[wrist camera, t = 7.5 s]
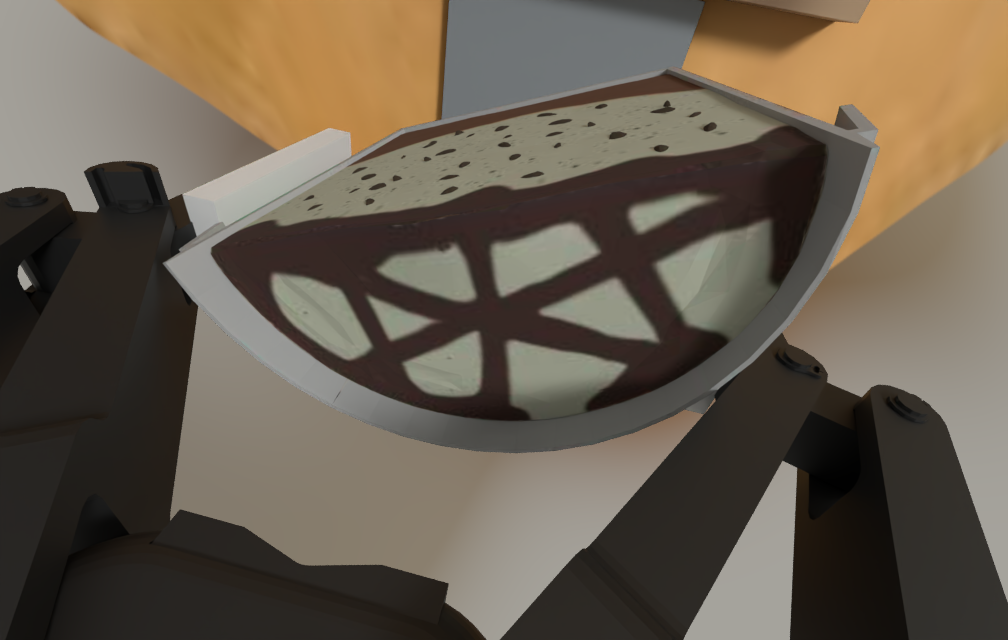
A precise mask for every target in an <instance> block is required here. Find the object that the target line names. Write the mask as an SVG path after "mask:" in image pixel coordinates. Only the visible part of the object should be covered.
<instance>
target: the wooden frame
mask: <svg viewBox="0 0 1008 640" xmlns="http://www.w3.org/2000/svg"><path fill="white" fill-rule="evenodd" d="M728 1H733V2H738V3H743V4H748V5H753V6H758V7H764V8H769V9H774V10H779V11H784V12H789V13H794V14H800V15H805V16H810V17H815V18H820V19H825V20H831V21H836V22H848V23H858V22H859V20H860V18H861V16H862V15H863V13H864V11H865V9H866V7H867V5H868V4H869V2H870V0H728Z"/></svg>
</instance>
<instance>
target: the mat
mask: <svg viewBox="0 0 1008 640" xmlns="http://www.w3.org/2000/svg"><path fill="white" fill-rule="evenodd" d="M704 4H705V2H704V1H699V0H449V10H448V26H447V42H446V58H445V74H444V89H443V105H442V119H446V118H450V117H454V116H459V115H463V114H468V113H472V112H476V111H481V110H485V109H489V108H494V107H498V106H502V105H507V104H511V103H516V102H520V101H524V100H529V99H533V98H537V97H542V96H546V95H550V94H555V93H559V92H564V91H568V90H572V89H577V88H581V87H585V86H590V85H594V84H599V83H603V82H607V81H612V80H616V79H620V78H625V77H629V76H633V75H638V74H642V73H647V72H651V71H655V70H660V69H664V68H668V67H673V66H674V67H677V68H680V69H681V68H682V66H683V63H684V60H685V57H686V54H687V52H688V49H689V46H690V43H691V40H692V37H693V35H694V32H695V29H696V26H697V23H698V21H699V18H700V15H701V12H702V9H703V7H704Z"/></svg>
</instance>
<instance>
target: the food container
mask: <svg viewBox="0 0 1008 640" xmlns="http://www.w3.org/2000/svg"><path fill="white" fill-rule="evenodd" d="M877 132H878V129H877V128H876V127H875V126H874V125H873V124H872V123H871V122H870V121H869V120H868V119H867V118H866V117H865V116H864V115H863V114H862V113H861V112H860V111H859V110H858V109H857V108H856V107H855V106H853V105H852V104H851V105H844V106H840V107H839V110H838V114H837V118H836V122H835V125H832V124H829V123H826V122H824V121H821V120H818V119H815V118H813V117H810V116H807V115H805V114H802V113H799V112H796V111H794V110H791V109H788V108H786V107H783V106H780V105H777V104H775V103H772V102H769V101H766V100H764V99H761V98H758V97H756V96H753V95H750V94H747V93H745V92H742V91H739V90H737V89H734V88H731V87H728V86H726V85H723V84H720V83H718V82H715V81H712V80H709V79H707V78H704V77H701V76H699V75H696V74H693V73H690V72H688V71H685V70H682V69H680V68H677V67H674V66H673V67H668V68H664V69H660V70H655V71H651V72H647V73H642V74H638V75H633V76H629V77H625V78H620V79H616V80H612V81H607V82H603V83H599V84H594V85H590V86H585V87H581V88H577V89H572V90H568V91H564V92H559V93H555V94H550V95H546V96H542V97H537V98H533V99H529V100H524V101H520V102H516V103H511V104H507V105H502V106H498V107H494V108H489V109H485V110H481V111H476V112H472V113H468V114H463V115H459V116H454V117H450V118H446V119H441V120H437V121H433V122H428V123H424V124H419V125H415V126H411V127H406V128H402V129H400V130H398V131H396V132H394V133H392V134H391V135H389V136H387V137H385V138H383V139H382V140H380V141H378V142H376V143H374V144H373V145H371V146H369V147H367V148H366V149H364V150H362V151H360V152H358V153H357V154H355V155H353V156H351V157H349V158H348V159H346V160H344V161H342V162H341V163H339V164H337V165H335V166H333V167H332V168H330V169H328V170H326V171H324V172H323V173H321V174H319V175H317V176H315V177H314V178H312V179H310V180H308V181H307V182H305V183H303V184H301V185H299V186H298V187H296V188H294V189H292V190H290V191H289V192H287V193H285V194H283V195H281V196H280V197H278V198H276V199H274V200H273V201H271V202H269V203H267V204H265V205H264V206H262V207H260V208H258V209H256V210H255V211H253V212H251V213H249V214H248V215H246V216H244V217H242V218H240V219H239V220H237V221H235V222H233V223H231V224H230V225H228V226H225V225H224V223H223V222H220V223H216V224H214V225H213V226H212V227H210V228H209V229H207V230H206V231H204V232H203V233H201V234H200V235H199V236H197V237H196V238H194V239H193V240H191V241H190V242H189V243H187V244H186V245H184V246H183V247H181V248H180V249H179V251H180V253H178V254H177V255H175V256H173V257H172V258H170V259H169V260H167V261H165V262H164V263H163V264H164V266H165V267H166V268H167V269H168V271H169V272H170V273H171V274H172V275H173V277H174V278H175V279H176V280H177V282H178V283H179V284H180V285H181V287H182V288H183V289H184V290H185V291H186V293H187V294H188V295H189V296H190V298H191V299H192V300H193V301H194V302H195V303H196V304H197V305H198V306H199V307H200V308H201V309H202V310H203V311H204V312H205V313H206V314H207V315H208V316H209V317H210V318H211V319H212V320H213V321H214V322H215V323H216V324H217V325H218V326H219V327H220V328H221V329H222V330H223V331H224V332H225V333H226V334H227V335H229V337H231V338H232V339H233V340H234V341H235V342H236V343H238V344H239V345H240V346H241V347H242V348H244V349H245V350H246V351H247V352H249V353H250V354H251V355H252V356H253V357H254V358H255V359H257V360H258V361H259V362H260V363H262V364H263V365H265V366H266V367H268V368H269V369H270V370H272V371H273V372H275V373H276V374H277V375H279V376H280V377H282V378H283V379H285V380H286V381H287V382H289V383H290V384H292V385H293V386H295V387H296V388H298V389H300V390H302V391H303V392H305V393H307V394H309V395H310V396H312V397H314V398H316V399H318V400H319V401H321V402H323V403H324V404H326V405H328V406H330V407H332V408H334V409H336V410H338V411H340V412H342V413H345V414H347V415H349V416H351V417H353V418H355V419H358V420H360V421H362V422H364V423H367V424H369V425H372V426H375V427H378V428H381V429H383V430H387V431H389V432H392V433H395V434H398V435H400V436H403V437H407V438H411V439H415V440H419V441H423V442H427V443H431V444H435V445H440V446H446V447H452V448H459V449H466V450H473V451H483V452H504V453H526V452H543V451H557V450H563V449H568V448H575V447H581V446H587V445H593V444H597V443H600V442H604V441H607V440H610V439H614V438H617V437H621V436H624V435H628V434H631V433H634V432H637V431H639V430H641V429H644V428H646V427H649V426H651V425H653V424H656V423H658V422H660V421H663V420H665V419H667V418H670V417H672V416H674V415H676V414H678V413H679V412H681V411H683V410H685V409H686V408H688V407H690V406H691V405H693V404H695V403H697V402H698V401H700V400H702V399H703V398H705V397H707V396H709V395H710V394H712V393H714V392H715V391H716V390H718V389H719V388H720V387H722V386H723V385H724V384H725V383H727V382H728V381H729V380H731V379H732V378H733V377H734V376H736V375H737V374H738V373H740V372H741V371H742V370H743V369H745V368H746V367H747V366H749V365H750V364H751V363H752V362H754V361H755V360H756V359H757V358H758V356H759V355H760V354H761V353H762V352H763V351H764V350H765V349H766V348H767V347H768V346H769V345H770V344H771V343H772V342H773V341H774V340H775V339H776V338H777V337H778V336H779V335H780V334H781V333H782V332H783V331H784V330H785V329H786V328H787V327H788V326H789V324H791V323H792V321H793V320H794V318H795V317H796V316H797V314H798V313H799V311H800V310H801V309H802V307H803V306H804V305H805V303H806V302H807V300H808V299H809V298H810V296H811V295H812V293H813V292H814V290H815V289H816V288H817V287H818V285H819V284H820V282H821V281H822V280H823V278H824V277H825V275H826V274H827V272H828V270H829V268H830V267H831V265H832V263H833V261H834V259H835V257H836V255H837V253H838V251H839V249H840V247H841V245H842V243H843V241H844V239H845V237H846V235H847V233H848V232H849V230H850V228H851V226H852V224H853V222H854V220H855V218H856V216H857V214H858V212H859V209H860V206H861V203H862V200H863V197H864V194H865V191H866V188H867V185H868V182H869V179H870V176H871V173H872V170H873V167H874V164H875V161H876V158H877V155H878V152H879V149H880V147H879V146H878V145H876V144H874V141H875V138H876V135H877Z"/></svg>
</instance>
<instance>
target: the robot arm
mask: <svg viewBox="0 0 1008 640" xmlns="http://www.w3.org/2000/svg"><path fill="white" fill-rule="evenodd" d="M349 157H351V140H350V132H345V131H341V130H336V129H332V128H328V129H326V130H324V131H321V132H319V133H317V134H315V135H313V136H310V137H308V138H306V139H304V140H301V141H299V142H297V143H295V144H293V145H290V146H288V147H286V148H284V149H281V150H279V151H277V152H275V153H273V154H270V155H268V156H266V157H264V158H262V159H259V160H257V161H255V162H253V163H250V164H248V165H247V166H244V167H241V168H239V169H237V170H235V171H233V172H230V173H228V174H226V175H223V176H221V177H219V178H217V179H214V180H212V181H210V182H208V183H205V184H203V185H201V186H199V187H197V188H194V189H192V190H190V191H188V192H185V193H183V194H181V195H179V196H176V197H174V198H172V199H170V200H168V198H167V195H166V192H165V189H164V186H163V183H162V180H161V177H160V174H159V171H158V168H157V167H155V166H153V165H152V164H148V163H143V162H134V161H119V162H109V163H103V164H98V165H96V166H93V167H90V168H88V169H87V170H86V171H84V173H85V176H86V178H87V180H88V182H89V185H90V187H91V189H92V192H93V194H94V196H95V198H96V201H97V203H98V205H99V209H98V211H97V213H94V212H80V211H73V210H72V207H71V205H70V203H69V201H68V199H67V197H66V195H65V193H63V192H61V191H59V190H54V189H48V188H35V187H24V188H15V189H12V190H11V191H8V192H4V193H0V640H486V638H484V636H483V635H482V634H481V633H480V632H479V630H478V629H477V628H476V627H475V626H474V625H473V624H472V623H471V622H470V621H469V620H468V619H467V618H465V617H464V616H463V615H462V614H461V613H460V612H458V611H457V610H455V609H454V608H452V607H451V606H449V605H448V604H446V603H445V600H446V595H447V590H448V583H445V582H441V581H437V580H434V579H430V578H427V577H423V576H420V575H416V574H412V573H409V572H405V571H402V570H398V569H394V568H391V567H387V566H383V565H331V566H329V565H328V566H327V565H326V566H307V565H301V564H299V563H297V562H295V561H293V560H292V559H291V558H289V557H288V556H286V555H285V554H283V553H282V552H280V551H279V550H277V549H276V548H274V547H273V546H271V545H270V544H268V543H267V542H265V541H264V540H262V539H261V538H259V537H258V536H257V535H255V534H253V533H252V532H251V531H249V530H248V529H246V528H245V527H242V526H238V525H234V524H231V523H227V522H224V521H220V520H217V519H213V518H209V517H206V516H202V515H198V514H194V513H191V512H187V511H184V510H179V511H178V512H177V514H176V515H175V516H174V517H173V518H172V520H171V521H170V511H171V510H170V509H171V503H172V495H173V487H174V481H175V474H176V466H177V459H178V451H179V444H180V436H181V429H182V422H183V414H184V407H185V399H186V392H187V385H188V377H189V370H190V361H191V355H192V348H193V340H194V333H195V325H196V317H197V310H198V305H197V304H196V303H195V302H194V301H193V300H192V299H191V298H190V296H189V295H188V294H187V293H186V291H185V290H184V289H183V288H182V287H181V285H180V284H179V283H178V282H177V280H176V279H175V278H174V277H173V275H172V274H171V273H170V272H169V271H168V269H167V268H166V267H165V266H164V264H163V263H164V262H165V261H167V260H169V259H170V258H172V257H173V256H175V255H177V254H178V253H180V251H179V249H180V248H181V247H183V246H184V245H186V244H187V243H189V242H190V241H191V240H193V239H194V238H196V237H197V236H199V235H200V234H201V233H203V232H204V231H206V230H207V229H209V228H210V227H212V226H213V225H214V224H216V223H220V222H223V223H224V225H225V226H228V225H230V224H231V223H233V222H235V221H237V220H239V219H240V218H242V217H244V216H246V215H248V214H249V213H251V212H253V211H255V210H256V209H258V208H260V207H262V206H264V205H265V204H267V203H269V202H271V201H273V200H274V199H276V198H278V197H280V196H281V195H283V194H285V193H287V192H289V191H290V190H292V189H294V188H296V187H298V186H299V185H301V184H303V183H305V182H307V181H308V180H310V179H312V178H314V177H315V176H317V175H319V174H321V173H323V172H324V171H326V170H328V169H330V168H332V167H333V166H335V165H337V164H339V163H341V162H342V161H344V160H346V159H348V158H349ZM19 265H21V266H22V268H23V270H24V272H25V273H26V275H27V276H28V278H29V280H30V281H31V283H32V285H31V286H30V287H29V288H28V289H27V290H24V289H23V288H22V286H21V285H20V282H19V279H18V276H17V275H18V267H19ZM827 377H828V374H827V372H826V370H825V368H824V367H823V365H822V364H820V363H819V362H818V361H817V360H816V359H815V358H814V357H812V356H811V355H809V354H808V353H806V352H805V351H803V350H801V349H799V348H796V347H794V346H792V345H789V344H788V343H787V341H786V339H785V337H784V335H783V334H782V333H781V334H780V335H779V336H778V337H777V338H776V339H775V340H774V341H773V342H772V343H771V344H770V345H769V346H768V347H767V348H766V349H765V350H764V351H763V352H762V353H761V354H760V355H759V356H758V358H757V359H756V360H755V361H754V362H752V363H751V364H750V365H749V366H747V367H746V368H745V369H743V370H742V371H741V372H740V373H738V374H737V375H736V376H734V377H733V378H732V379H731V380H729V381H728V382H727V383H725V384H724V385H723V386H722V387H720V388H719V389H718V390H716V391H715V392H714V393H712V394H710V395H709V396H707V397H705V398H703V399H702V400H700V401H698V402H697V403H695V404H693V405H691V406H690V407H688V408H686V409H685V410H688V411H693V412H697V413H701V414H704V413H705V412H706V410H707V409H708V407H709V406H710V404H711V403H712V401H713V400H714V398H715V399H716V401H715V403H714V404H713V405H712V406H711V407H710V408H709V409H708V411H707V412H706V413H705V414H704V415H703V416H702V417H701V419H700V420H699V421H698V422H697V423H696V424H695V425H694V427H693V428H692V429H691V430H690V431H689V432H688V433H687V435H686V436H685V437H684V438H683V439H682V440H681V442H680V443H679V444H678V445H677V446H676V447H675V448H674V450H673V451H672V452H671V453H670V454H669V455H668V456H667V458H666V459H665V460H664V461H663V462H662V463H661V465H660V466H659V467H658V468H657V469H656V470H655V471H654V472H653V474H652V475H651V476H650V477H649V478H648V479H647V481H646V482H645V483H644V484H643V485H642V487H640V489H639V490H638V491H637V492H636V493H635V494H634V496H633V497H632V498H631V499H630V500H629V501H628V502H627V504H626V505H625V506H624V507H623V508H622V509H621V510H620V512H619V513H618V514H617V515H616V516H615V517H614V518H613V520H612V521H611V522H610V523H609V524H608V525H607V526H606V528H605V529H604V530H603V531H602V532H601V533H600V534H599V536H598V537H597V538H596V539H595V540H594V541H593V542H592V543H591V545H590V546H588V547H587V548H586V549H582V550H581V551H580V552H578V553H577V554H576V555H575V556H574V557H573V558H572V559H571V561H570V562H569V563H568V564H567V565H566V566H565V567H564V568H563V569H562V570H561V571H560V573H559V574H558V575H557V576H556V577H555V578H554V579H553V581H552V582H551V583H550V584H549V585H548V586H547V587H546V588H545V590H544V591H543V592H542V593H541V594H540V595H539V596H538V597H537V599H536V600H535V601H534V602H533V603H532V604H531V605H530V607H529V608H528V609H527V610H526V611H525V612H524V613H523V614H522V616H521V617H520V618H519V619H518V620H517V621H516V622H515V623H514V625H513V626H512V627H511V628H510V629H509V630H508V631H507V632H506V634H505V635H504V636H503V637H502V638H501V639H500V640H683V639H684V637H685V635H686V633H687V631H688V629H689V627H690V625H691V623H692V622H693V620H694V618H695V616H696V615H697V613H698V611H699V609H700V607H701V606H702V604H703V602H704V600H705V599H706V596H707V595H708V593H709V591H710V590H711V588H712V586H713V584H714V582H715V581H716V579H717V577H718V575H719V573H720V572H721V570H722V568H723V566H724V564H725V563H726V561H727V559H728V557H729V556H730V554H731V552H732V550H733V548H734V546H735V545H736V543H737V541H738V539H739V537H740V536H741V534H742V532H743V530H744V529H745V526H746V525H747V523H748V522H749V520H750V518H751V516H752V514H753V513H754V511H755V509H756V507H757V505H758V503H759V502H760V500H761V498H762V496H763V495H764V493H765V491H766V489H767V487H768V486H769V484H770V482H771V480H772V478H773V476H774V475H775V473H776V471H777V470H778V468H779V466H780V464H781V462H782V461H785V462H787V463H789V464H791V465H793V466H795V467H797V488H796V511H795V534H794V557H793V580H792V604H791V627H790V640H1008V602H1007V599H1006V597H1005V594H1004V591H1003V588H1002V585H1001V582H1000V579H999V576H998V573H997V571H996V568H995V565H994V562H993V559H992V556H991V553H990V550H989V547H988V544H987V541H986V539H985V536H984V533H983V530H982V527H981V524H980V521H979V518H978V515H977V513H976V510H975V507H974V504H973V501H972V498H971V495H970V492H969V489H968V486H967V484H966V481H965V478H964V475H963V472H962V469H961V466H960V463H959V460H958V457H957V455H956V452H955V449H954V446H953V443H952V440H951V437H950V434H949V432H948V429H947V426H946V424H945V422H944V421H943V419H942V418H941V416H940V415H939V414H938V413H937V412H935V410H934V409H932V408H931V406H930V405H929V404H928V403H926V402H925V401H922V400H921V399H920V398H919V397H917V396H916V395H914V394H910V393H908V392H905V391H904V390H901V389H898V388H895V387H892V386H888V385H876V386H874V387H871V389H870V390H869V391H868V392H867V393H866V394H865V395H864V396H863V397H859V396H857V395H855V394H852V393H850V392H848V391H845V390H843V389H841V388H838V387H836V386H834V385H831V384H829V383H827Z"/></svg>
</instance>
